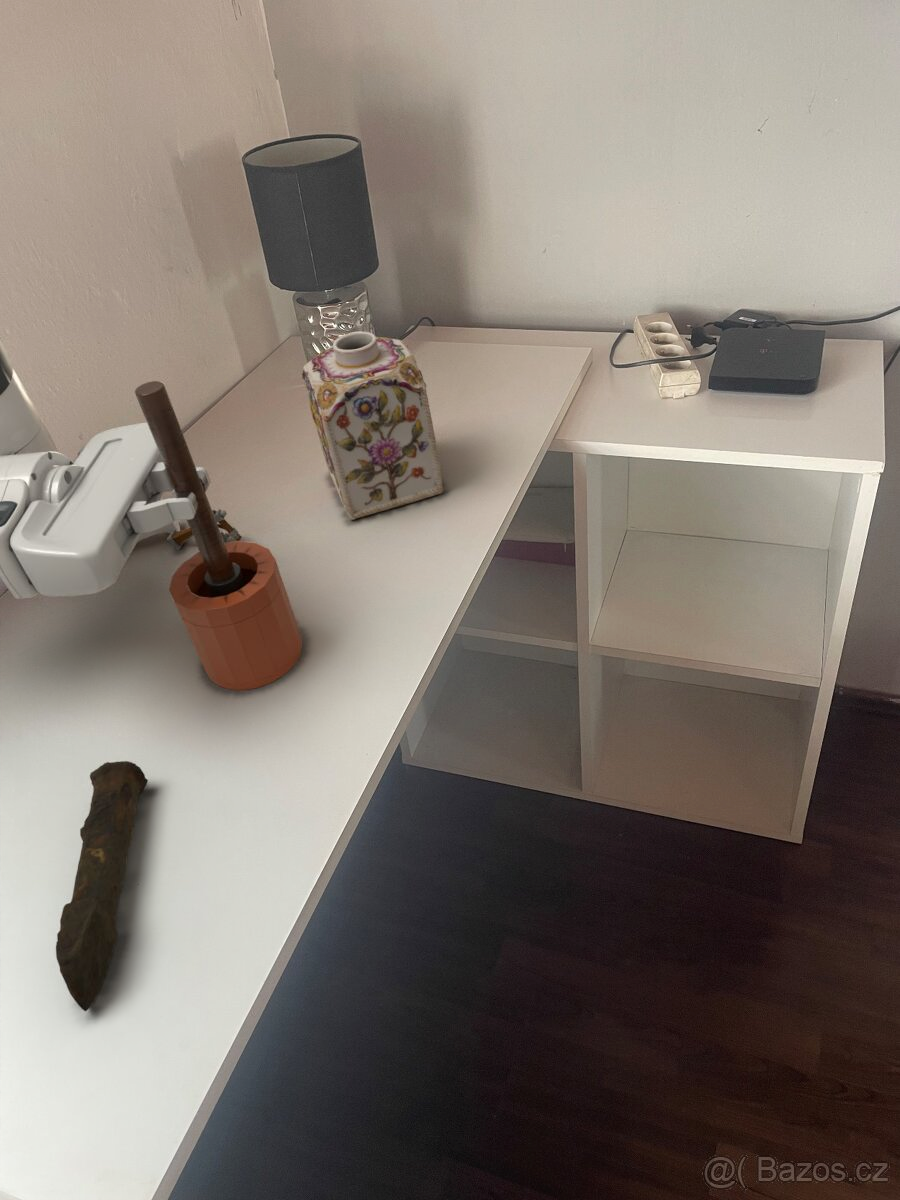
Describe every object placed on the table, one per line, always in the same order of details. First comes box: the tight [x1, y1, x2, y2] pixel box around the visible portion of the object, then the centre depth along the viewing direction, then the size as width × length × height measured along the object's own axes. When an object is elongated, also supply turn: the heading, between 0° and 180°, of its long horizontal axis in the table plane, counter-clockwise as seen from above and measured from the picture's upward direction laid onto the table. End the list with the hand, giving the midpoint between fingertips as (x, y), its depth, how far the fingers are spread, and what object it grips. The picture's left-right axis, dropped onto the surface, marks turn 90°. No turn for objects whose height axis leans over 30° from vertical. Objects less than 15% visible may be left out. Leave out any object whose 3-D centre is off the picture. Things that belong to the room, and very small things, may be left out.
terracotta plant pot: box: [168, 540, 303, 691], centre depth 80 cm, size 9×9×10 cm
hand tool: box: [55, 760, 149, 1012], centre depth 64 cm, size 19×4×5 cm, turn 6°
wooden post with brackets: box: [166, 508, 243, 551], centre depth 97 cm, size 2×8×4 cm, turn 84°
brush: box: [134, 380, 246, 598], centre depth 72 cm, size 3×3×22 cm
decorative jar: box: [301, 330, 443, 521], centre depth 97 cm, size 12×12×18 cm
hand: (200, 492), depth 71 cm, fingers closed on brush, 2 cm apart
